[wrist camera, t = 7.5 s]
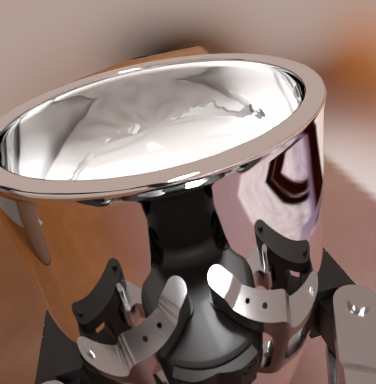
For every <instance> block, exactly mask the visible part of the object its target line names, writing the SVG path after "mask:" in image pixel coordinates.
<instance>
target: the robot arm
mask: <svg viewBox="0 0 376 384" xmlns="http://www.w3.org/2000/svg"><path fill="white" fill-rule="evenodd" d="M44 324H45V326H44V329H43V338H42V342H41V349H40V355H39V362H38V368H37V374H36V381H35V384H100V383H99V382H98V381H97V380H96V379H95V378H94V377H93V376H92V375H91V374H90V372H89V371H88V370H87V369H86V367H85V366H84V364H83V363H82V362H81V360H80V359H79V358H78V356H77V355H76V354H75V352H74V351H73V350H72V348H71V347H70V346H69V344H68V343H67V342H66V340H65V339H64V337H63V336H62V334H61V332H60V331H59V329H58V327H57V325H56V324H55V322H54V320H53V319H52V317H51V315H50V313H49V312H48V310H46V316H45V323H44ZM320 335H321V336H322V338H323V339H324V341H325V342H326V358H327V372H328V384H376V293H375V292H374V291H372V290H370V289H368V288H366V287H363V286H360V285H356V284H355V283H354V282H353V281H352V280H351V279H350V278H349V276H348V275H347V274H346V273H345V272H344V271H343V269H342V268H341V267H340V266H339V265H338V264H337V263H336V261H335V260H334V259H333V258H332V257H331V256H330V255H329V253H328V252H326V251H325V249H324V248H323V258H322V272H321V279H320V286H319V292H318V298H317V304H316V310H315V316H314V321H313V324H312V327H311V330H310V333H309V336H310V338H314V337H317V336H320Z"/></svg>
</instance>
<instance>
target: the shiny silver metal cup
mask: <svg viewBox="0 0 376 384" xmlns="http://www.w3.org/2000/svg"><path fill="white" fill-rule="evenodd" d="M325 100H326V87H325V84H324V82H323V80H322V79H321V77H320V76H319V75H318V74H317V73H316V72H315V71H314V70H312V69H311V68H309V67H307V66H305V65H303V64H300V63H298V62H295V61H292V60H289V59H285V58H280V57H275V56H268V55H259V54H242V53H237V54H236V53H234V54H233V53H230V54H229V53H225V54H205V55H194V56H184V57H177V58H169V59H163V60H157V61H151V62H146V63H141V64H136V65H132V66H127V67H123V68H119V69H115V70H111V71H108V72H104V73H100V74H97V75H94V76H90V77H87V78H84V79H81V80H78V81H75V82H72V83H69V84H67V85H64V86H61V87H59V88H56V89H54V90H51V91H49V92H47V93H44V94H42V95H40V96H38V97H36V98H34V99H32V100H30V101H28V102H26V103H24V104H22V105H20V106H18V107H17V108H15V109H13V110H12V111H10V112H8V113H7V114H5V115H4V116H2V117H1V118H0V217H1V219H2V221H3V224H4V226H5V228H6V230H7V232H8V234H9V236H10V238H11V240H12V243H13V245H14V247H15V249H16V251H17V253H18V255H19V257H20V259H21V261H22V263H23V265H24V267H25V269H26V271H27V273H28V275H29V277H30V279H31V281H32V283H33V285H34V287H35V289H36V291H37V293H38V295H39V296H40V298H41V300H42V302H43V303H44V305H45V307H46V308H47V310H48V312H49V313H50V315H51V317H52V319H53V320H54V322H55V324H56V325H57V327H58V329H59V331H60V332H61V334H62V336H63V337H64V339H65V340H66V342H67V343H68V344H69V346H70V347H71V348H72V350H73V351H74V352H75V354H76V355H77V356H78V358H79V359H80V360H81V362H82V363H83V364H84V366H85V367H86V369H87V370H88V371H89V372H90V374H91V375H92V376H93V377H94V378H95V379H96V380H97V381H98V382H99V383H100V384H290V382H291V380H292V378H293V375H294V373H295V371H296V369H297V367H298V364H299V362H300V360H301V357H302V354H303V351H304V348H305V345H306V342H307V339H308V336H309V333H310V330H311V327H312V324H313V321H314V316H315V310H316V304H317V298H318V292H319V286H320V279H321V272H322V258H323V241H324V187H325V184H324V138H323V137H324V135H323V118H324V104H325Z"/></svg>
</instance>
